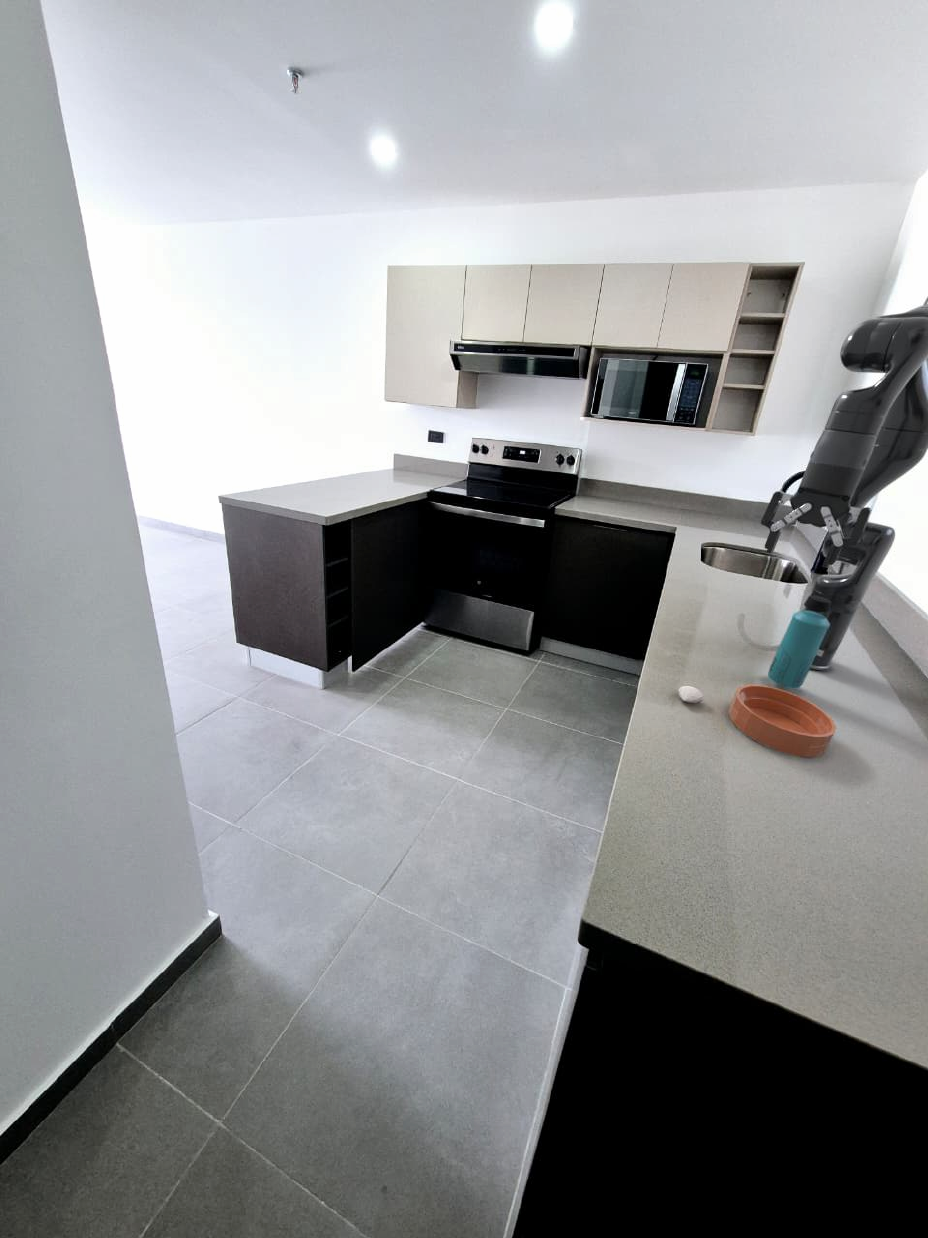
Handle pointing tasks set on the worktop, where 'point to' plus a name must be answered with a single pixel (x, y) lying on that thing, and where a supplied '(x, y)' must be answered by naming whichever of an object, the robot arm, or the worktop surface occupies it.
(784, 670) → the beverage bottle
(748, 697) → the bowl
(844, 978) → the worktop surface
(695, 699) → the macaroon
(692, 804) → the worktop surface
